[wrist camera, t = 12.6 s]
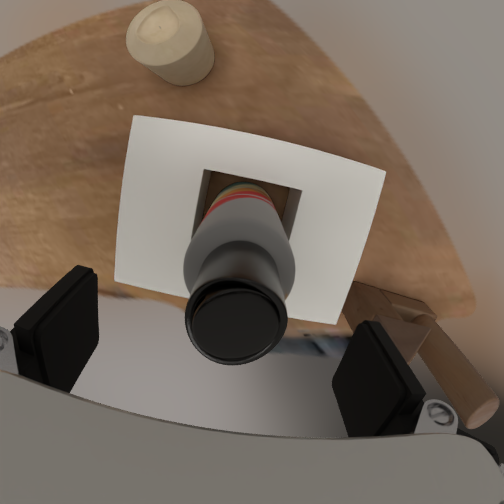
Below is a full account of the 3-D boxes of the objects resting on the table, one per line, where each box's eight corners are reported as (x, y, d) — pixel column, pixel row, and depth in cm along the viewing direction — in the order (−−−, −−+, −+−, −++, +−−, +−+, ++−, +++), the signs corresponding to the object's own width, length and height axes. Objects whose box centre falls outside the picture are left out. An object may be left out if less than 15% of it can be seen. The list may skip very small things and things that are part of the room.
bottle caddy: (135, 256, 31) (114, 280, 25) (155, 119, 26) (133, 115, 21) (322, 294, 33) (335, 324, 27) (360, 165, 28) (386, 171, 22)
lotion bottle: (230, 170, 28) (193, 223, 9) (284, 198, 29) (347, 299, 10) (203, 222, 30) (136, 353, 11) (255, 248, 31) (266, 404, 12)
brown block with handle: (352, 279, 32) (429, 398, 15) (424, 301, 33) (508, 398, 16) (338, 308, 33) (398, 435, 16) (410, 326, 34) (483, 429, 17)
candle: (175, 28, 23) (144, -16, 14) (225, 46, 24) (214, 3, 15) (147, 75, 25) (104, 49, 15) (197, 95, 26) (172, 71, 16)
